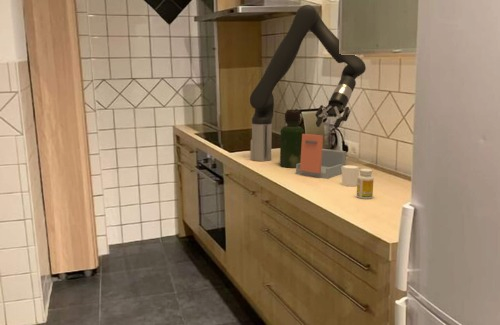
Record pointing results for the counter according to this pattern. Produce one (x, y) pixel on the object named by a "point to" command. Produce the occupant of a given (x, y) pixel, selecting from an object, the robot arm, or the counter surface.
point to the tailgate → (311, 153)
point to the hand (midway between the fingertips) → (326, 126)
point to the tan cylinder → (350, 175)
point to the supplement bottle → (365, 184)
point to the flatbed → (328, 164)
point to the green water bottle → (291, 140)
